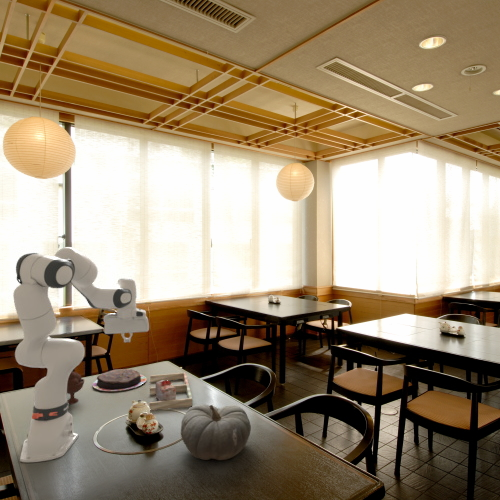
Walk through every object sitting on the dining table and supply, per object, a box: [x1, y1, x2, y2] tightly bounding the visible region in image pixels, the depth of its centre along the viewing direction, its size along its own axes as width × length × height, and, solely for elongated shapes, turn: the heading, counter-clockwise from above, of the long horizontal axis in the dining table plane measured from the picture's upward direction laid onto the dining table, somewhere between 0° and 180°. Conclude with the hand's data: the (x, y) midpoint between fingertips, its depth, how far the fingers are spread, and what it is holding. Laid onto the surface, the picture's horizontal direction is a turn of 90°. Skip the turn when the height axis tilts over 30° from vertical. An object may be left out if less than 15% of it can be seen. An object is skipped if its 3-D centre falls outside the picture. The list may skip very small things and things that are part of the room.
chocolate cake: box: [92, 368, 147, 393], centre depth 212 cm, size 28×28×7 cm
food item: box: [155, 380, 177, 401], centre depth 186 cm, size 14×8×10 cm, turn 31°
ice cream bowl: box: [67, 370, 85, 405], centre depth 187 cm, size 11×11×15 cm
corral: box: [148, 371, 193, 411], centre depth 197 cm, size 40×19×4 cm, turn 14°
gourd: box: [180, 403, 252, 461], centre depth 141 cm, size 25×25×17 cm
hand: (127, 342), depth 184 cm, fingers closed
